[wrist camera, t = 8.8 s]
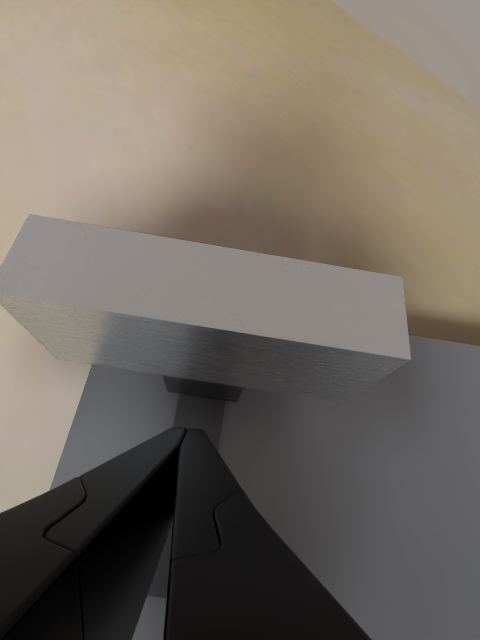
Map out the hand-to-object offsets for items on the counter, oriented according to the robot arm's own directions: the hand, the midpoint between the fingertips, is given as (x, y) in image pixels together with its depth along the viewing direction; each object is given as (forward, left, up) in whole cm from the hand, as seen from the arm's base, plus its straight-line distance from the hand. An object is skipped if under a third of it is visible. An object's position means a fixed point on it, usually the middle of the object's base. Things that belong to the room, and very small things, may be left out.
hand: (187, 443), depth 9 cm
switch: (+3, -3, -5) cm, 6 cm away
